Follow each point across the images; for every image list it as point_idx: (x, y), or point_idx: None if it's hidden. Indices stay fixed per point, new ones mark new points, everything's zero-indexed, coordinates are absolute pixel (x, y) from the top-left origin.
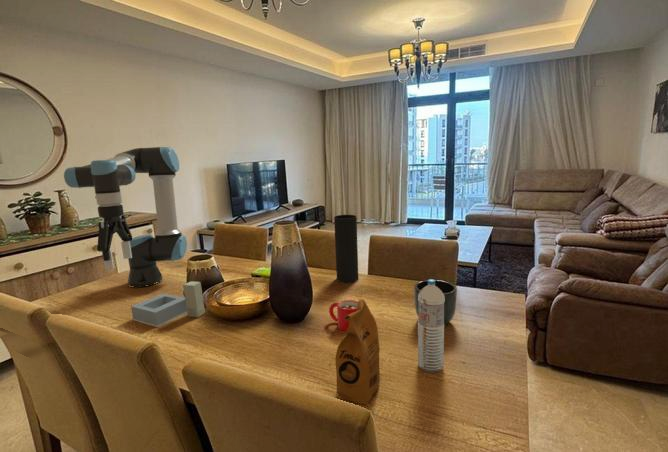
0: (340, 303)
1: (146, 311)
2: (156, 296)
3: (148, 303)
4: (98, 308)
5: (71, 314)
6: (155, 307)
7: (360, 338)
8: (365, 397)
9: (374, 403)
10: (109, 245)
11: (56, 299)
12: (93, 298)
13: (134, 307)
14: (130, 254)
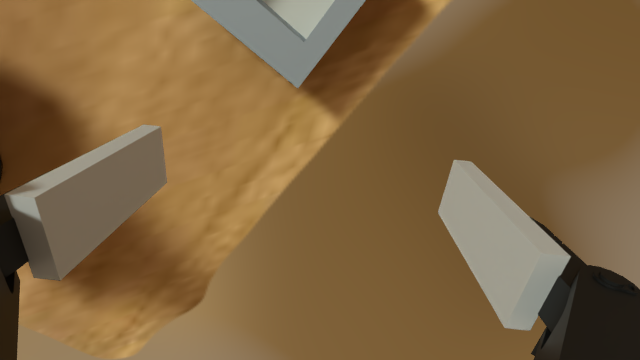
0: None
1: (361, 5)
2: (203, 3)
3: (279, 20)
4: (182, 219)
5: (215, 269)
6: (261, 1)
7: None
8: None
9: None
10: (610, 315)
11: (107, 337)
12: (101, 259)
13: (311, 70)
14: (142, 138)
